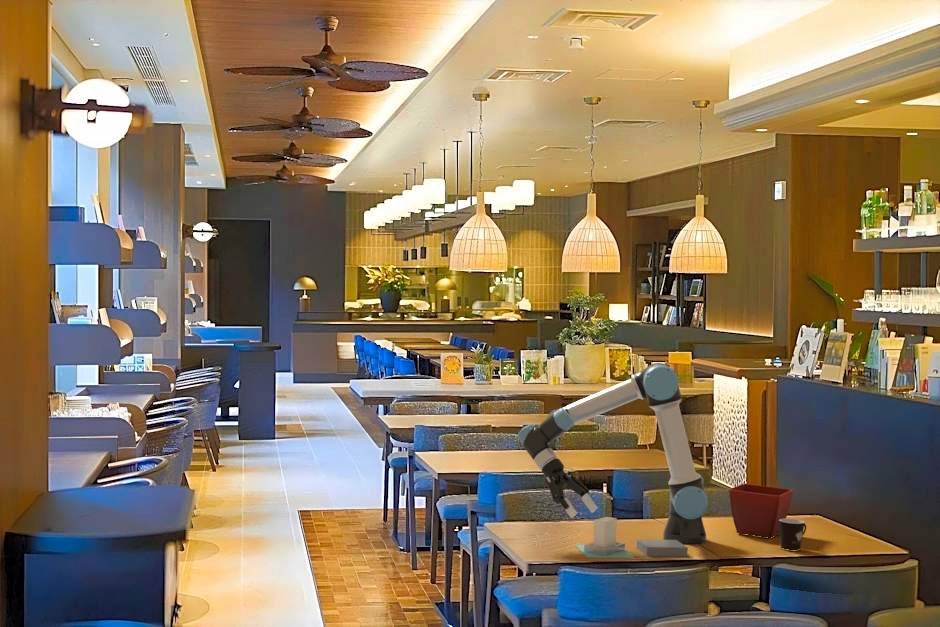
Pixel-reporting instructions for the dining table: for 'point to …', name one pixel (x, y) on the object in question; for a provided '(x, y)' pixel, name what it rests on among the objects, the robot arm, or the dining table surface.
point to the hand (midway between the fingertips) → (584, 513)
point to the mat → (616, 555)
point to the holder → (604, 549)
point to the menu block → (605, 532)
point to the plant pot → (759, 508)
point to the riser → (662, 548)
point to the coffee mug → (791, 533)
